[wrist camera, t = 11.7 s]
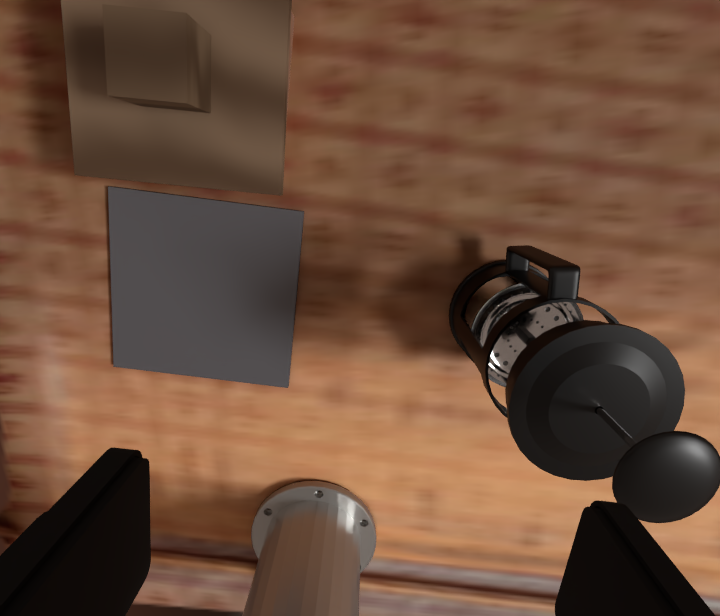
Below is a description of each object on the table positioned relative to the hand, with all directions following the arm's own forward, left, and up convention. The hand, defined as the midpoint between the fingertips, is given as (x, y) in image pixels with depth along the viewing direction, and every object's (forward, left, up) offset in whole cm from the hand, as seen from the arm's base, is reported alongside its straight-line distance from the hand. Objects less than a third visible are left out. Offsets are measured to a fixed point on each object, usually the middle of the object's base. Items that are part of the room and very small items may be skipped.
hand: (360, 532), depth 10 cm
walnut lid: (+12, +14, -24) cm, 30 cm away
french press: (-2, -12, -30) cm, 33 cm away
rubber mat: (-4, +14, -30) cm, 33 cm away
